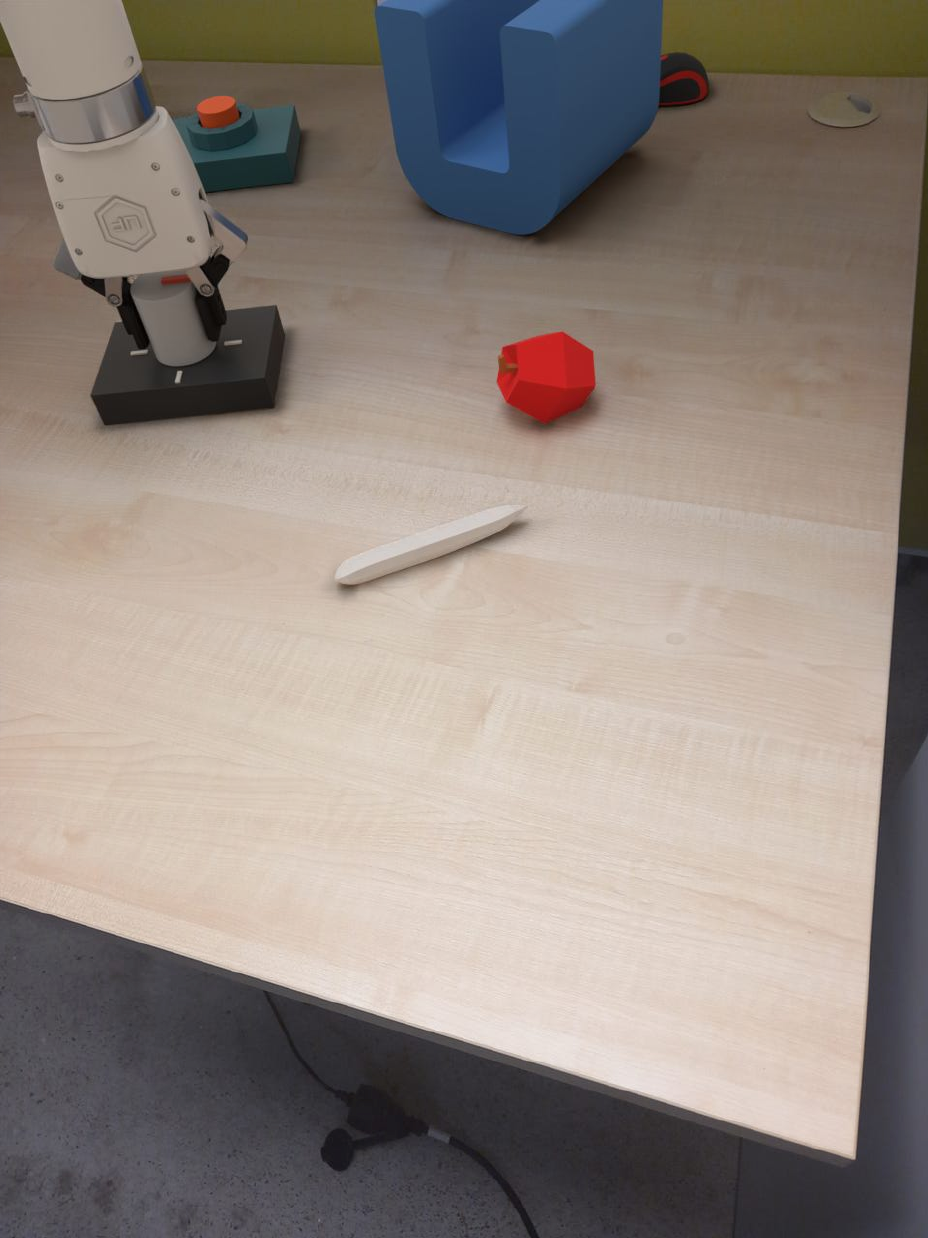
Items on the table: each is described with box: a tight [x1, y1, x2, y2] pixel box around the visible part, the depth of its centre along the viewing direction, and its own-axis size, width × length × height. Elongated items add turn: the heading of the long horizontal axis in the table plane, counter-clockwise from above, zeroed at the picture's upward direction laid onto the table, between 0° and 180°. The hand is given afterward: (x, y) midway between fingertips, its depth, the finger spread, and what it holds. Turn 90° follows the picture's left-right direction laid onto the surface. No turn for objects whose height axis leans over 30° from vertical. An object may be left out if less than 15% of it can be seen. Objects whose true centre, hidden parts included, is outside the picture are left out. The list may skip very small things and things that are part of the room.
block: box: [374, 0, 664, 236], centre depth 94 cm, size 18×18×18 cm
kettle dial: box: [130, 270, 216, 366], centre depth 81 cm, size 5×5×6 cm
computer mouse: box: [658, 51, 710, 108], centre depth 108 cm, size 6×11×4 cm, turn 96°
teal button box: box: [171, 102, 302, 193], centre depth 108 cm, size 14×11×5 cm
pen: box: [334, 504, 528, 586], centre depth 69 cm, size 2×14×2 cm, turn 111°
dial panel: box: [90, 304, 286, 426], centre depth 84 cm, size 14×10×3 cm
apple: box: [496, 331, 597, 425], centre depth 76 cm, size 7×7×8 cm
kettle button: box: [196, 95, 240, 129], centre depth 106 cm, size 4×4×2 cm
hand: (180, 333), depth 82 cm, fingers closed on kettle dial, 5 cm apart
